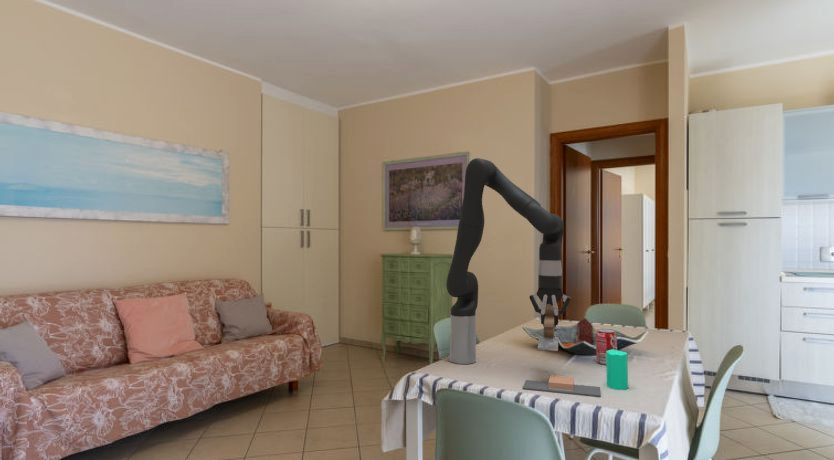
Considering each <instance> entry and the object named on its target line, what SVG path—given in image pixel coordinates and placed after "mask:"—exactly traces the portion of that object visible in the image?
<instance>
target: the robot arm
mask: <svg viewBox="0 0 834 460" xmlns="http://www.w3.org/2000/svg"><path fill="white" fill-rule="evenodd" d="M485 187H488V188H490V189H491V190H493V191H494V192H496V193H497V194H498V195H500V196H501V197H502V198H503V200H505V202H506V203H507V204H508V206H509V207H511V208H512V209H513V210H514V211H515V212H516V213H518V214H519V215H520V216H522V217H523V218H524V219H526V220H527V221H528V222H529V224H530V225H531V226H532V227H533V228H534V229H536V230H537V231H538V232H539V233H541V234H542V242H541V243H540V244H539V248H538V250H539V251H538V259H539V260H538V269H537V271H538V273H537V274H538V280H537V281H538V282H537V285H538V286H537V290H536V291H537V292H535V293H534V294H530V295H529V300H530V302H531V304H532V306H533V308H534V312H536V313H538V314H540V323H541V325H542V326H543V327H544V319H545V311H546V305H553V308H554V327H555V328H556V327H557V326H558V325H559V316H560V315H564V313H565V312H566V309H567V307H568V306H569V304H570V301H571V296H567V295H566V294H564V291H563V289H562V288H563V284H562V283H563V282H562V281H563V269H562V243H563V236H564V227H565V226H564V221H563V219H562V217H561V216H559V215H558V214H554V213H551V212H549V211H547V209H545V208H544V207H543V206H542V205H541V203H540V202H539V201H538V200H537V199H535V198H533V197H532V196H531V195H529V193H527V192H526V191H524V190H523V189H522V188H520V187H519V186H517V185H516V184H515V183H513V182H512V181H511V180H510V179H509V178H508V177H507V176H506V175H505V174H504V173H503V172H502V171H501V170H500V169H499V168H498V167H497V165H496V164H494V162H492V161H491V160H488V159H485V158H480V157H479V158H473V159H471V160H470V161H469V162H468V164H467V166H466V168H465V175H464V187H463V189H464V190H463V199H462V203H461V204H462V205H461V209H460V217H459V220H458V221H459V222H458V226H457V227H458V228H457V232H456V238H455V239H456V240H455V246H454V251H453V256H452V259H451V263H450V267H449V270H448V274H447V276H446V277H447V278H446V283H445V285H446V290H447V293H448V294H449V295H450V296H451V297H453V298H456V302H455V303H454V304H453V305H452V306H451V308H450V335H449V337H448V339H449V341H448V343H449V345H448V346H449V354H448V355H449V359H448V360H449V362H450V363H453V364H459V365H469V364H471V365H472V364H475V362H477V344H476V343H477V342H476V341H477V340H476V339H477V334H476V333H477V332H476V330H477V327H476V325H477V323H476V314H477V313H476V311H477V309H478V305H479V304H478V303H479V301H478V300H479V282H478V278H477V275H475V273H473V272H471V271H469V266H470V262H471V260H472V258H473V256H474V254H475V252H476V251H477V249H478V247H479V246H480V243H481V242H482V238H483V234H484V228H485V213H484V207H483V195H484V190H485ZM562 298H563V299H562ZM537 299H539V300H540V301H541V303H542V304H541V308H540V307H539V305H538V302H537ZM561 299H562V301H563V302H564V303H563V305H562V307H561V309H559V307H558V303H559V302H560V301H561Z"/></svg>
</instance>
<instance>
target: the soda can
mask: <svg viewBox="0 0 834 460" xmlns="http://www.w3.org/2000/svg"><path fill="white" fill-rule="evenodd" d="M595 347H596V348H595V349H596V350H595V352H596V353H595V354H596V356H595V357H596V361H597V362H598V363H599V364H601V365H603V366H606V351H608V350H616V347H617V348H618V337H617V334H616V331H615V330H614V329H612V328H599V329H597V333H596V335H595Z"/></svg>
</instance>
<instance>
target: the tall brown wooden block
mask: <svg viewBox="0 0 834 460" xmlns="http://www.w3.org/2000/svg"><path fill="white" fill-rule="evenodd" d="M555 329H556V327H554V308H553V305H551V304H548V305H546V310H545V319H544V326H543V335H539V336H538V342H537V343H538V344H537V350H539V351H540V350H542V351H551V352H552V351H553V352H558V350H559V340H560V339H559V337H558V336H555Z"/></svg>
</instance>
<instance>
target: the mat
mask: <svg viewBox="0 0 834 460" xmlns="http://www.w3.org/2000/svg"><path fill="white" fill-rule="evenodd" d="M522 390H524V391H525V390H527V391H535V392H536V391H538V392H546V393H547V392H548V393H556V394H567V395H574V396H575V395H576V396H585V397H586V396H587V397H595V398H601V397H602V394H601V387H600V386H595V385H594V386H593V385H585V384H584V385H583V384H574V389H573V391H564V390H554V389H549V381H544V380H543V381H541V380H529V379H525V381H524V383H523V385H522Z"/></svg>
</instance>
